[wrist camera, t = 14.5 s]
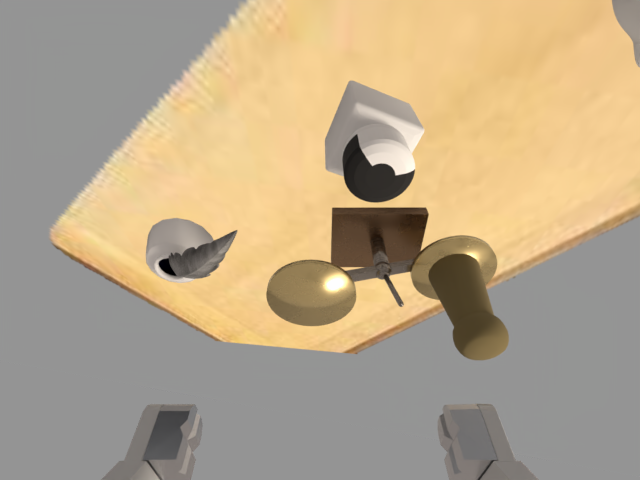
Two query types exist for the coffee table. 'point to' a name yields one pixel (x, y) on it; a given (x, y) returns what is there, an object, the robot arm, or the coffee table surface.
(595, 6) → the coffee table surface
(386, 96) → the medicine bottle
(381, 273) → the balance
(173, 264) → the inkwell
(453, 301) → the olive brown pawn
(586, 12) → the coffee table surface
